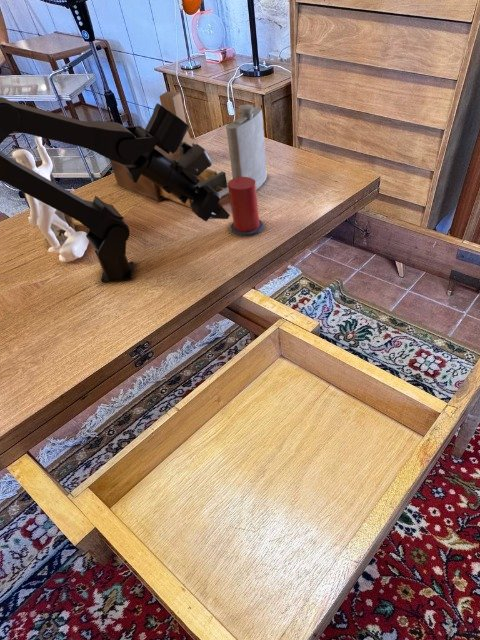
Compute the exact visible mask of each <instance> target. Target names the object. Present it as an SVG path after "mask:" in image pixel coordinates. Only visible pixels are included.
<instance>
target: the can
mask: <svg viewBox="0 0 480 640" xmlns="http://www.w3.org/2000/svg"><path fill="white" fill-rule="evenodd" d="M227 188H229V193H228V196H229V200H230V208H231V216H232V223H234V228H235V229H236V230H238V231H241V232H250V231H254V230H256V229H257V228H258V227H259V220H260V215H259V204H258V193H257V190H256V182H255V180H254V179H252V178H249V177H238V178H234V179H233V178H232V179H230V180H229V181H227Z"/></svg>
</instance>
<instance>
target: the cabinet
mask: <svg viewBox="0 0 480 640" xmlns="http://www.w3.org/2000/svg"><path fill="white" fill-rule="evenodd" d="M155 149H156V150H158V151H159V152H160V153H162V154H163V155H165V156H166V157H168V158H170V159H174V160H175V161H178V160H179V159H180V155H181V154H180V152H177V151H176V152H174V154H173V153H171V152H169V154H168V153H166V152H165V151H163V150H162V149H161V148H159V147H158V146H155ZM108 160H109V162H110V165H111V168H112V172H113V175H114V178H115V180H116V184H117V186H119V187H121V188H123V189H127V190H129V191H130V192H131V191H132V192H134V193H137V194H138V195H141V196H143V197H146V198H148V199H150V200H153V201H156V202H158V203H159V202H162V201H163V200H165V199H167V198H166V197H163V196H161V195H159V192H158V189H157V185H156V184H155V183H153V182H152V181H150V180H149V179H147V178H146V177H144V176H142V175H140V177H139V179H138V181H137V182H136V183H134V182H133V181H132V180H131V179H130V178H129V177H128V174H127V169H126V168H125V165H123V164H120V163H118V162H115V161H113V160H111V159H108Z"/></svg>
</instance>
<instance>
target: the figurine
mask: <svg viewBox="0 0 480 640" xmlns="http://www.w3.org/2000/svg"><path fill="white" fill-rule="evenodd" d="M34 142H35V144H36V149H37V152H38V155H39V157H40V160H42V162H43V163H42V165H41V166H40V167H38V168H37V167H36V165H35V161H36V160H35V158H34V155H33V154H32V153H31V152H30V151H29V150H27V149H23V148H21V149H15V150H14V151H13V152H12V157H13V158H14V159H15V161H17V162H18V163H20V164H22V165H24V166H25V167H27V168H29V169H31V170H32V171H34V172H36V173H38V174H39V175H41V176H43V177H45V178H46V179H48V180H50V174H51V173H52V171H53V161H52V159H51V157H50V156H49V154H48V151H47V149H46V147H45V146H44V145H43V138H42V137H38V136H34ZM50 181H51V180H50ZM25 194H26V193H25ZM26 198H27V200H28V202H27V204H28V203H29V204H28V206H29V212H30V213H29V216H28V217H27V219H28V224H29V225H30V226H31V227H33V228H37V227H38V229H39V231H40V232H41V234H42V236H44V238H45V237H46V238H45V240H46V239H47V240H48V241H49V243H50V244H51V247H50V246H49V248H48V252H49V254H59V255H58V260H59V261H60V262H61V263H70V262H74V261H75V260H77V259H80V258H82V257H83V256H84V255H85V251H86V250H87V249H88V246H89V244H90V241H89V240H88V239H87V237H86V235H87V233H88V232H86V231H82V230H78V231H76V229H75V230H74V229H73V228H71V227H69V225H68V224H67V223H66V222H64V221H63V220H61V219H60V218H59V217H58V216H57V215H56V214H55V211H56V209H54V208H53V207H51V206H49V205H47V204H45V203H43V202H41V201H39V200H37V199H35V198H34V197H32V196H30V195H28V194H26ZM26 198H25V199H26ZM27 200H26V201H27ZM52 223H53V224H54V225H57V226H58V227H60V228H61V229H63V230H65V231H66V232H65V233H64V235H65V236H66V237H68V238H67V240H66V241H65V243H64V244H62V245H60V244H59V241H58V240H57V238H56V236H55V234H54V233H53V231H52V230H51V228H50V227H51V224H52ZM47 240H46V241H47Z"/></svg>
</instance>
